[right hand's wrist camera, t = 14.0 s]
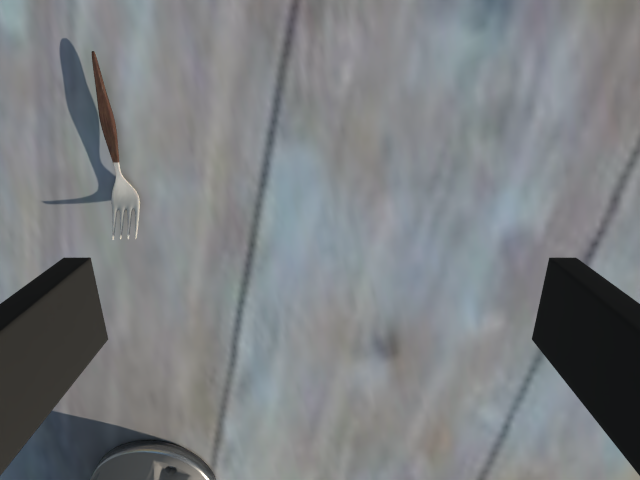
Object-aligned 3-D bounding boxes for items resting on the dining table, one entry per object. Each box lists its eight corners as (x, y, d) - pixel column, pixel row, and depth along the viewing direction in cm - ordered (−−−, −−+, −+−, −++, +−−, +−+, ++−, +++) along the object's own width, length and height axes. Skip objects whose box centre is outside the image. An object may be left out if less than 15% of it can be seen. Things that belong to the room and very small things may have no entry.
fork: (111, 51, 35) (100, 49, 33) (146, 231, 41) (138, 239, 39) (80, 52, 35) (67, 51, 34) (119, 232, 41) (109, 240, 39)
